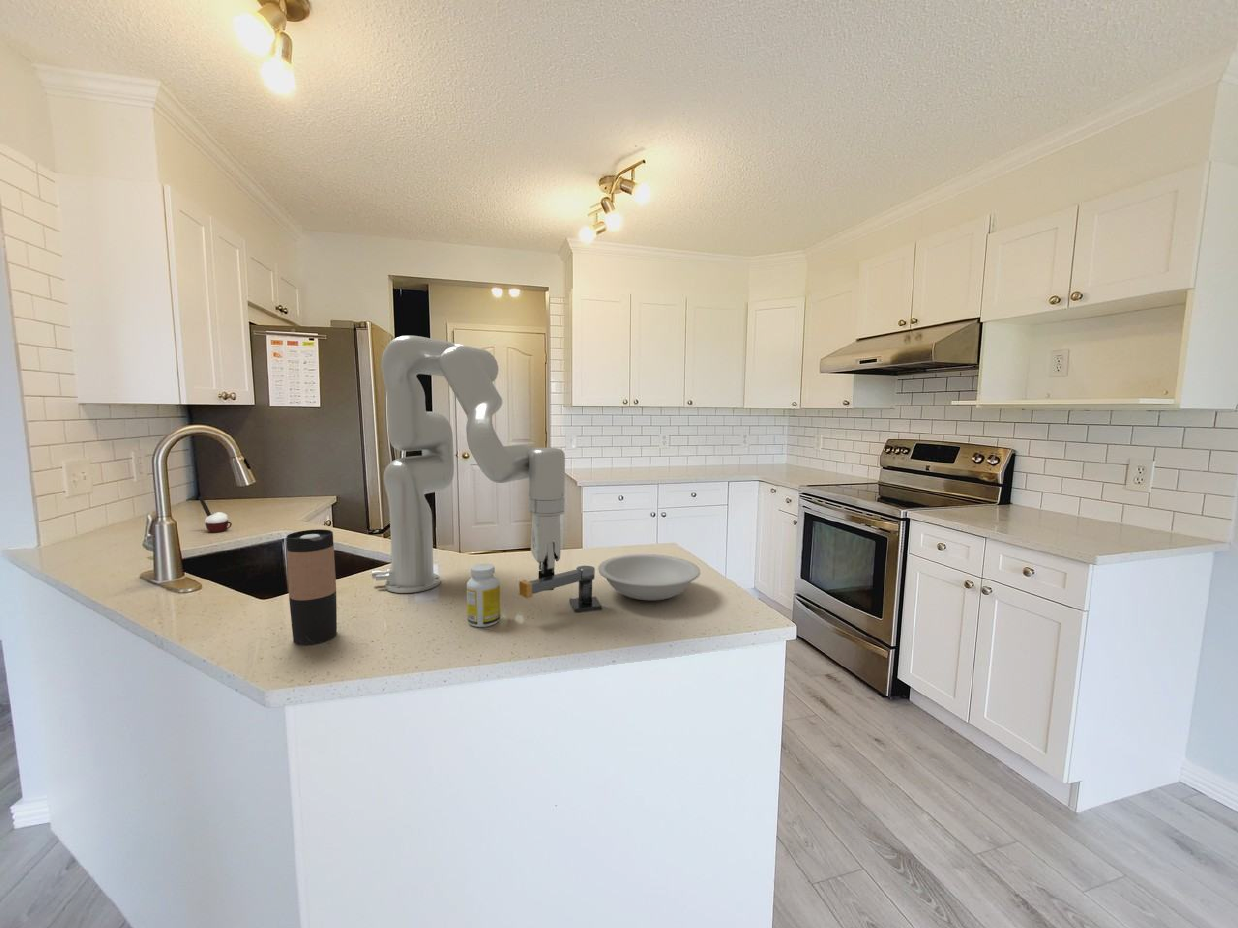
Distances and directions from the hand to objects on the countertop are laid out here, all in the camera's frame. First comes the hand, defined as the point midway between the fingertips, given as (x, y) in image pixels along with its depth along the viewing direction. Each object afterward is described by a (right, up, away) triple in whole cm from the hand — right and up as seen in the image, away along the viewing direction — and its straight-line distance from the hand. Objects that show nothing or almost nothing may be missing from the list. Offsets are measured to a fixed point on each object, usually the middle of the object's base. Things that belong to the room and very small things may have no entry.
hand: (546, 589), depth 111 cm
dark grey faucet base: (+8, -5, +3) cm, 10 cm away
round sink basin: (+23, -4, +11) cm, 25 cm away
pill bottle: (-12, -6, -6) cm, 14 cm away
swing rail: (+3, +1, -2) cm, 4 cm away
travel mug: (-42, -6, -14) cm, 45 cm away
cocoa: (-123, +4, +66) cm, 140 cm away
